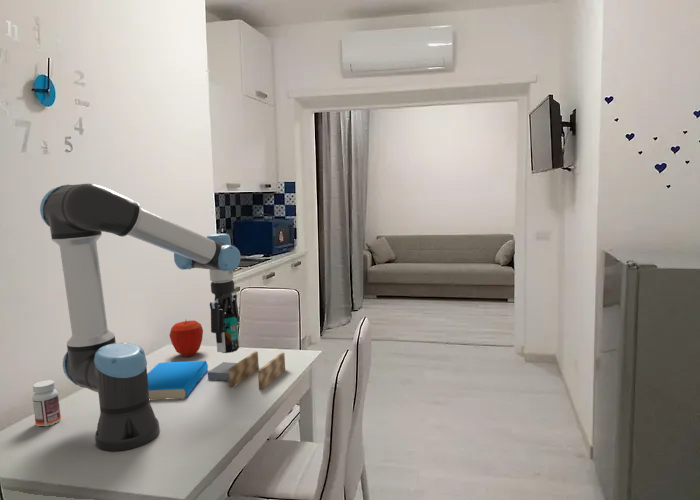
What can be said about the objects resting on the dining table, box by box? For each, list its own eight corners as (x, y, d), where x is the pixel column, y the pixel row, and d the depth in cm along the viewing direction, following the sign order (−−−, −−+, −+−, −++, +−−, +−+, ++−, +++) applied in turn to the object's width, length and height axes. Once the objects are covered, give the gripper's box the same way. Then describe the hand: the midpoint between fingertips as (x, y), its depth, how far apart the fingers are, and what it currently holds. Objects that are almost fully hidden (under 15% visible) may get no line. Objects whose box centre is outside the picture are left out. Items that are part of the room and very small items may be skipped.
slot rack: (261, 389, 164) (260, 370, 164) (230, 387, 167) (228, 368, 167) (285, 369, 181) (284, 352, 181) (256, 367, 185) (255, 351, 184)
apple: (197, 348, 212) (194, 313, 210) (210, 354, 202) (207, 318, 201) (166, 355, 204) (163, 319, 202) (178, 362, 195) (175, 324, 193)
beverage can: (213, 351, 178) (211, 316, 176) (231, 345, 183) (228, 311, 181) (226, 354, 173) (223, 319, 171) (243, 349, 178) (241, 314, 176)
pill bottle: (63, 416, 151) (59, 378, 150) (57, 425, 145) (52, 385, 144) (39, 419, 149) (35, 380, 148) (32, 429, 143) (27, 388, 142)
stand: (235, 381, 173) (234, 373, 172) (208, 379, 175) (207, 372, 175) (249, 370, 182) (249, 363, 182) (223, 369, 185) (223, 362, 185)
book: (129, 390, 159) (158, 361, 184) (131, 403, 160) (159, 373, 185) (186, 387, 160) (207, 359, 184) (188, 400, 160) (208, 371, 185)
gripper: (216, 286, 164) (222, 358, 167) (246, 275, 183) (251, 339, 186) (195, 286, 167) (201, 357, 169) (227, 275, 185) (232, 339, 188)
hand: (227, 348), depth 178 cm, fingers closed on beverage can, 7 cm apart
